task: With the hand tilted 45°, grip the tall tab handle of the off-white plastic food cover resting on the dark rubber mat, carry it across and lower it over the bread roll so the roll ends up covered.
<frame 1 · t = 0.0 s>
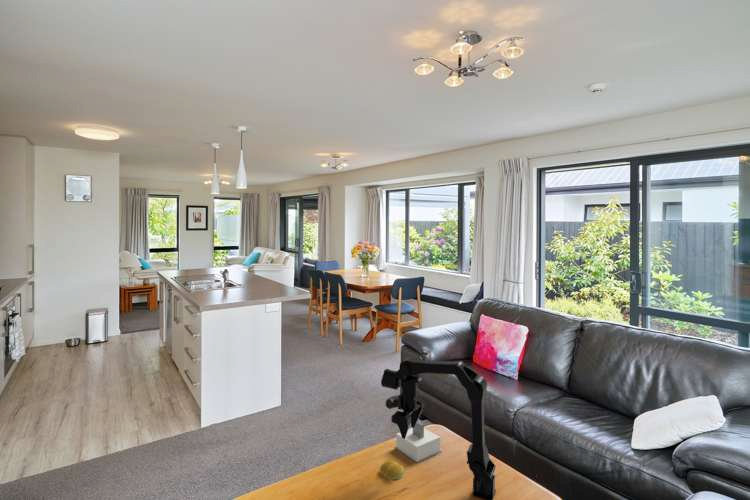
hand: (408, 432, 151), 15 cm above the table, tool pointing down, fingers open, 9 cm apart
mat: (417, 450, 165), on the table
bread roll: (392, 474, 150), on the table
cover: (417, 449, 165), resting on mat
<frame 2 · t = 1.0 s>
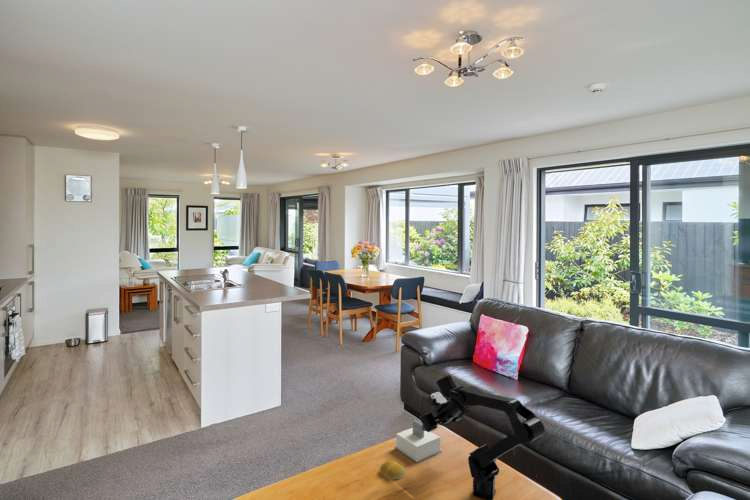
hand: (431, 426, 159), 13 cm above the table, tool tilted 45°, fingers open, 9 cm apart
nothing on the table moved.
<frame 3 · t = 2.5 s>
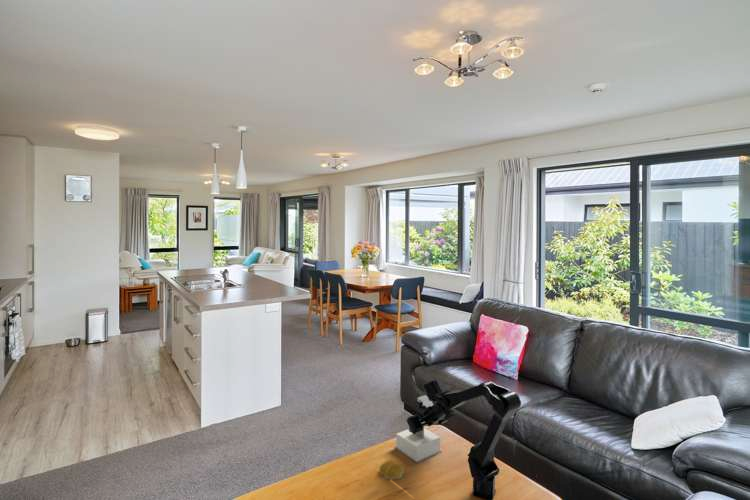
hand: (417, 427, 165), 9 cm above the table, tool tilted 45°, fingers open, 9 cm apart
nothing on the table moved.
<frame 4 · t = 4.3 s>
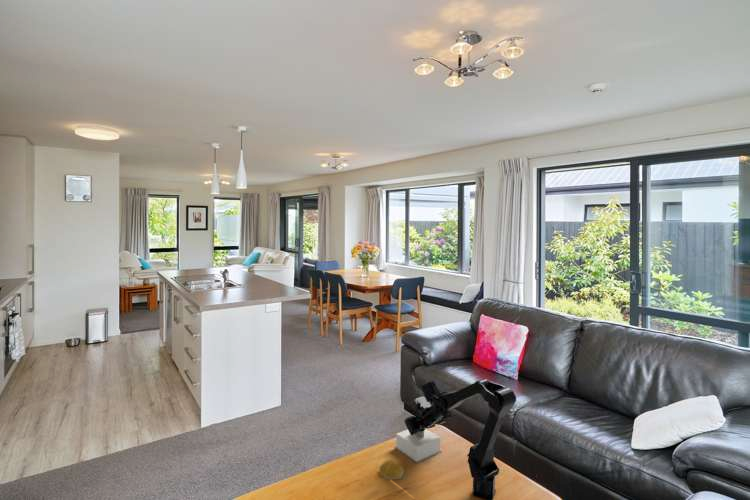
hand: (415, 428, 166), 9 cm above the table, tool tilted 45°, fingers closed on cover
cover: (417, 449, 165), resting on mat, touching gripper
everything else where it was.
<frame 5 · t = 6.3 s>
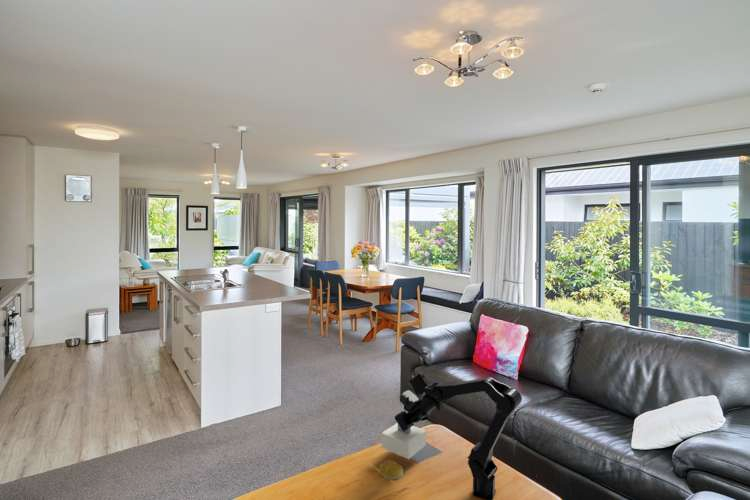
hand: (401, 424, 159), 13 cm above the table, tool tilted 45°, fingers closed on cover
cover: (403, 446, 159), point 5 cm above the table, touching gripper
everything else where it was.
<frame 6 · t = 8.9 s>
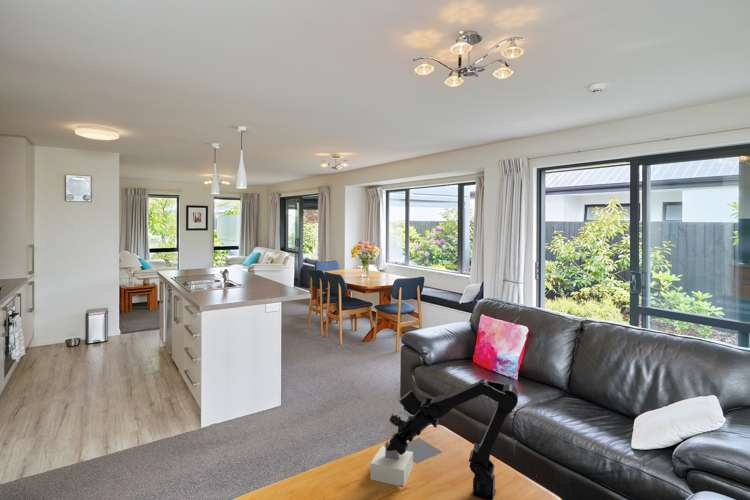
hand: (388, 447, 150), 10 cm above the table, tool tilted 45°, fingers open, 4 cm apart
cover: (392, 473, 150), on the table
everything else where it was.
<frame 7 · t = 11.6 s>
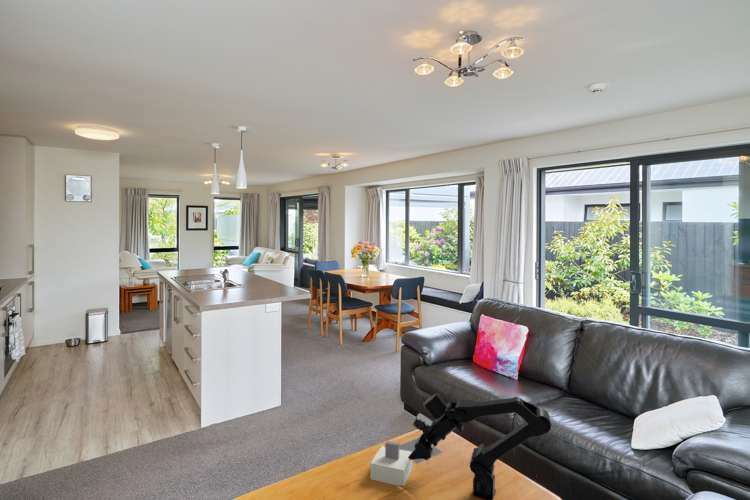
hand: (412, 451, 147), 10 cm above the table, tool tilted 45°, fingers open, 9 cm apart
nothing on the table moved.
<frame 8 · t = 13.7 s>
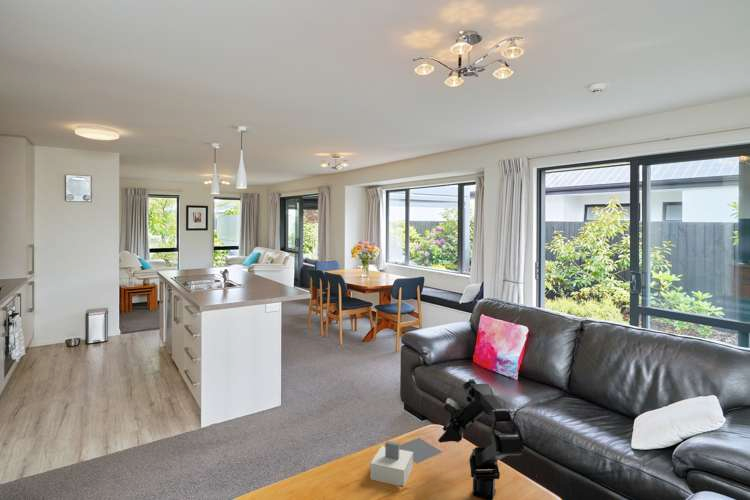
hand: (441, 435, 151), 14 cm above the table, tool tilted 45°, fingers open, 9 cm apart
nothing on the table moved.
at the end: cover 0.8 cm from the bread roll (horizontally); cover on the table; cover tilted 0° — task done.
